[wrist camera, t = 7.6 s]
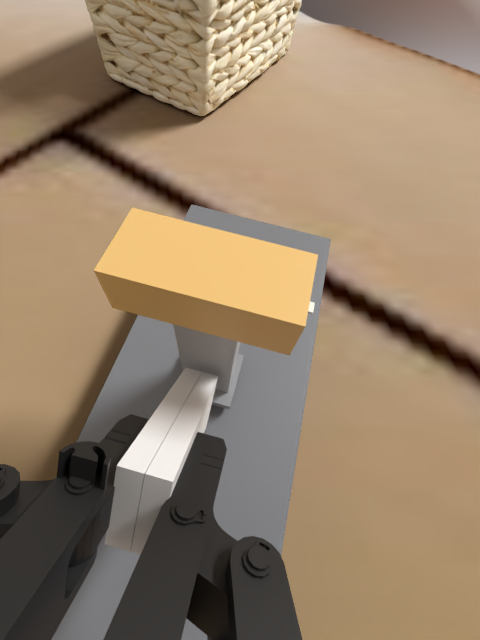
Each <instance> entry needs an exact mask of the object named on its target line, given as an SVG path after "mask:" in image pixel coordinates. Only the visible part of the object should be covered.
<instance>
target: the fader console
mask: <svg viewBox="0 0 480 640" xmlns="http://www.w3.org/2000/svg"><path fill="white" fill-rule="evenodd" d="M184 221H187V222H191V223H195V224H199V225H203V226H207V227H211V228H215V229H219V230H223V231H227V232H231V233H235V234H239V235H243V236H247V237H251V238H255V239H258V240H262V241H266V242H270V243H274V244H278V245H282V246H286V247H290V248H294V249H298V250H302V251H306V252H310V253H314V254H318V259H317V264H316V270H315V276H314V281H313V287H312V293H311V298H310V304H309V309H308V315H307V321H306V326H305V328H304V330H303V332H302V334H301V335H300V337H299V339H298V341H297V343H296V345H295V346H294V348H293V350H292V352H291V354H290V355H286V354H282V353H278V352H274V351H271V350H267V349H263V348H260V347H256V346H252V345H248V344H245V343H241V342H240V346H239V351H238V354H241V355H244V358H243V361H242V365H241V369H240V372H239V376H238V380H237V383H236V387H235V391H234V394H233V398H232V402H231V405H230V409H225V408H222V407H218V406H215V405H211V409H210V413H209V418H208V422H207V426H206V429H205V432H204V434H208V435H211V436H215V437H218V438H222V439H224V442H225V445H226V448H227V451H226V456H225V460H224V464H223V468H222V472H221V476H220V480H219V485H218V489H217V493H216V497H215V501H214V507H213V512H214V517H215V519H216V521H217V523H218V525H219V526H220V527H221V528H222V530H224V531H225V532H226V533H227V534H228V535H230V536H231V537H233V538H234V539H236V540H238V541H239V540H240V539H242V538H243V537H249V536H255V537H259V538H263V539H265V540H266V541H268V542H269V543H271V544H272V545H273V546H274V547H275V548H276V549H277V551H278V552H279V553H280V555H281V552H282V546H283V540H284V533H285V527H286V520H287V514H288V508H289V501H290V495H291V489H292V482H293V476H294V470H295V463H296V457H297V451H298V444H299V438H300V431H301V425H302V419H303V412H304V406H305V400H306V393H307V387H308V381H309V374H310V368H311V362H312V355H313V349H314V342H315V336H316V330H317V323H318V317H319V311H320V304H321V298H322V292H323V285H324V279H325V273H326V266H327V260H328V253H329V247H330V241H331V239H328V238H324V237H320V236H316V235H312V234H308V233H304V232H300V231H296V230H292V229H288V228H284V227H280V226H276V225H272V224H268V223H264V222H260V221H256V220H252V219H248V218H244V217H240V216H236V215H232V214H228V213H224V212H220V211H216V210H212V209H208V208H204V207H200V206H196V205H191V207H190V209H189V211H188V213H187V215H186V217H185V219H184ZM181 373H182V365H181V360H180V356H179V351H178V346H177V341H176V336H175V331H174V326H173V324H171V323H167V322H163V321H159V320H156V319H152V318H148V317H145V316H141V315H138V316H137V318H136V320H135V322H134V324H133V326H132V328H131V330H130V332H129V335H128V337H127V339H126V341H125V343H124V345H123V347H122V349H121V351H120V353H119V355H118V357H117V359H116V361H115V363H114V365H113V368H112V370H111V372H110V374H109V376H108V378H107V380H106V382H105V384H104V386H103V388H102V390H101V392H100V394H99V396H98V398H97V401H96V403H95V405H94V407H93V409H92V411H91V413H90V415H89V417H88V419H87V421H86V423H85V425H84V427H83V429H82V431H81V434H80V436H79V438H78V440H77V442H83V441H91V442H97V443H100V442H101V440H102V439H104V438H105V436H106V435H107V433H108V432H109V431H111V429H112V428H113V427H114V425H115V424H116V423H117V422H118V421H119V420H120V419H122V418H124V417H126V416H128V415H130V414H132V415H136V416H139V417H143V418H147V419H150V418H151V416H152V415H153V413H154V412H155V411H156V409H157V408H158V406H159V405H160V403H161V402H162V401H163V399H164V398H165V396H166V395H167V393H168V392H169V391H170V389H171V388H172V386H173V385H174V383H175V382H176V381H177V379H178V378H179V376H180V375H181ZM106 532H107V531H106ZM105 538H106V533H105V535H104V536H103V538H102V540H101V541H100V543H99V545H98V549H97V555H96V558H95V561H94V564H93V566H92V568H91V569H90V571H89V573H88V575H87V576H86V578H85V580H84V582H83V584H82V585H81V587H80V589H79V591H78V593H77V594H76V596H75V598H74V600H73V602H72V603H71V605H70V607H69V609H68V611H67V612H66V614H65V616H64V618H63V619H62V621H61V623H60V625H59V627H58V628H57V630H56V632H55V634H54V636H53V637H52V639H51V640H103V639H104V637H105V635H106V632H107V630H108V628H109V625H110V623H111V621H112V619H113V616H114V614H115V612H116V609H117V607H118V605H119V603H120V600H121V598H122V596H123V593H124V591H125V589H126V587H127V584H128V582H129V580H130V577H131V575H132V573H133V571H134V568H135V566H136V564H137V561H138V559H139V557H140V555H139V554H136V553H133V552H131V551H130V552H129V551H126V550H123V549H119V548H116V547H113V546H109V545H106V544H105ZM181 640H207V635H206V634H205V633H204V632H202V631H201V630H200V629H199V628H197V627H196V626H195V625H194V624H193V623H191V622H190V621H189V620H188V619H187V618H186V621H185V625H184V629H183V634H182V638H181Z"/></svg>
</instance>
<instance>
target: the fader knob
mask: <svg viewBox="0 0 480 640" xmlns="http://www.w3.org/2000/svg"><path fill="white" fill-rule="evenodd" d="M317 259H318V254H314V253H310V252H306V251H302V250H298V249H294V248H290V247H286V246H282V245H278V244H274V243H270V242H266V241H262V240H258V239H255V238H251V237H247V236H243V235H239V234H235V233H231V232H227V231H223V230H219V229H215V228H211V227H207V226H203V225H199V224H195V223H191V222H187V221H183V220H179V219H175V218H171V217H167V216H163V215H159V214H155V213H151V212H147V211H143V210H139V209H135V208H132V209H131V211H130V213H129V214H128V216H127V217H126V219H125V221H124V222H123V224H122V226H121V227H120V229H119V230H118V232H117V234H116V235H115V237H114V239H113V240H112V242H111V243H110V245H109V247H108V248H107V250H106V252H105V253H104V255H103V256H102V258H101V260H100V261H99V263H98V265H97V266H96V268H95V270H94V272H95V274H96V276H97V278H98V280H99V282H100V284H101V286H102V288H103V290H104V292H105V294H106V296H107V298H108V300H109V302H110V304H111V306H112V308H115V309H119V310H122V311H126V312H130V313H133V314H137V315H141V316H145V317H148V318H152V319H156V320H159V321H163V322H167V323H171V324H173V326H174V331H175V336H176V341H177V346H178V351H179V356H180V360H181V365H182V372H183V371H184V369H185V368H190V369H194V370H197V371H201V372H205V373H208V374H212V375H216V376H218V380H217V384H216V388H215V392H214V396H213V401H212V405H215V406H218V407H222V408H225V409H230V405H231V402H232V398H233V394H234V391H235V387H236V383H237V380H238V376H239V372H240V369H241V365H242V361H243V358H244V355H241V354H238V351H239V346H240V342H241V343H245V344H248V345H252V346H256V347H260V348H263V349H267V350H271V351H274V352H278V353H282V354H286V355H290V354H291V352H292V350H293V348H294V346H295V345H296V343H297V341H298V339H299V337H300V335H301V334H302V332H303V330H304V328H305V326H306V321H307V315H308V309H309V304H310V298H311V293H312V287H313V281H314V276H315V270H316V264H317ZM181 374H182V373H181Z"/></svg>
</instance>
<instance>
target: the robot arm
mask: <svg viewBox="0 0 480 640" xmlns="http://www.w3.org/2000/svg"><path fill="white" fill-rule="evenodd" d="M217 380H218V376H216V375H212V374H208V373H205V372H201V371H197V370H194V369H190V368H185V369H184V371H183V372H182V374H181V375H180V376H179V378H178V379H177V381H176V382H175V383H174V385H173V386H172V388H171V389H170V391H169V392H168V393H167V395H166V396H165V398H164V399H163V401H162V402H161V403H160V405H159V406H158V408H157V409H156V411H155V412H154V413H153V415H152V416H151V418H150V419H147V418H143V417H139V416H136V415H132V414H130V415H128V416H126V417H124V418H122V419H120V420H119V421H118V422H117V423H116V424H115V425H114V427H113V428H112V429H111V431H109V432H108V433H107V435H106V436H105V438H104V439H102V440H101V442H100V443H97V442H91V441H83V442H76V443H73V444H71V445H68V446H66V447H65V448H63V449H62V450H60V451H59V461H58V471H57V477H56V479H55V480H50V481H20V474H19V472H18V471H17V470H16V469H15V468H14V467H11V466H8V465H5V464H0V640H51V639H52V637H53V636H54V634H55V632H56V630H57V628H58V627H59V625H60V623H61V621H62V619H63V618H64V616H65V614H66V612H67V611H68V609H69V607H70V605H71V603H72V602H73V600H74V598H75V596H76V594H77V593H78V591H79V589H80V587H81V585H82V584H83V582H84V580H85V578H86V576H87V575H88V573H89V571H90V569H91V568H92V566H93V564H94V561H95V558H96V555H97V549H98V545H99V543H100V541H101V540H102V538H103V536H104V535H105V533H106V538H105V544H106V545H109V546H113V547H116V548H119V549H123V550H126V551H129V552H130V551H131V552H133V553H136V554H139V555H140V557H139V559H138V561H137V564H136V566H135V568H134V571H133V573H132V575H131V577H130V580H129V582H128V584H127V587H126V589H125V591H124V593H123V596H122V598H121V600H120V603H119V605H118V607H117V609H116V612H115V614H114V616H113V619H112V621H111V623H110V625H109V628H108V630H107V632H106V635H105V637H104V639H103V640H181V638H182V634H183V629H184V625H185V621H186V618H187V619H188V620H189V621H190V622H191V623H193V624H194V625H195V626H196V627H197V628H199V629H200V630H201V631H202V632H204V633H205V634H206V635H207V640H302V637H301V632H300V628H299V624H298V620H297V616H296V612H295V607H294V603H293V599H292V595H291V591H290V587H289V582H288V578H287V574H286V570H285V566H284V562H283V560H282V558H281V555H280V553H279V552H278V551H277V549H276V548H275V547H274V546H273V545H272V544H271V543H269V542H268V541H266V540H265V539H263V538H259V537H255V536H249V537H243V538H242V539H240V540H239V541H238V540H236V539H234V538H233V537H231V536H230V535H228V534H227V533H226V532H225V531H224V530H222V528H221V527H220V526H219V525H218V523H217V521H216V519H215V517H214V512H213V507H214V501H215V497H216V493H217V489H218V485H219V480H220V476H221V472H222V468H223V464H224V460H225V456H226V451H227V448H226V445H225V442H224V439H222V438H218V437H215V436H211V435H208V434H204V432H205V429H206V426H207V422H208V418H209V413H210V409H211V405H212V401H213V396H214V392H215V388H216V384H217ZM106 531H107V532H106Z"/></svg>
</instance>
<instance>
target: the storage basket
mask: <svg viewBox="0 0 480 640" xmlns="http://www.w3.org/2000/svg"><path fill="white" fill-rule="evenodd" d="M301 1H302V0H85V2H86V5H87V9H88V11H89V13H90V17H91V20H92V23H93V29H94V32H95V35H96V36H97V42H98V46H99V48H100V51H101V56H102V59H103V61H104V65H105V69H106V71H107V74H108V75H109V76H111V78H113V79H114V80H116V81H118V82H121V83H124V84H125V85H127V86H128V87H131V88H134V89H137V90H138V91H140V92H142V93H144V94H147V95H153V96H154V97H155V98H156V99H157V100H159V101H162V102H165V103H169V104H172V105H174V106H175V107H177V108H179V109H182V110H187V111H189V112H191V113H193V114H195V115H198V116H205V115H206V114H208V113H209V112H211V111H213V110H215V109H216V108H217V107H218V106H219V105H220V104H221V103H222V102H224V101H226V100H228V99H229V97H230V96H231V95H233V94H234V93H235V92H238V91H239V90H241V89H243V88H244V87H245V86H246V85H247V84H248V83H249V82H251V81H252V80H253V79H254V78H255V77H257V76H259V75H261V74H262V73H263V72H264V71H265V70H267V68H269V67H270V66H271V64H272V63H274V62H275V61H276V60H279V59H280V58H281V57H282V56H283V55H284V54H286V53H287V51H288V50H289V47H290V43H291V38H292V34H293V28H294V26H295V23H296V20H297V18H298V13H299V9H300V7H301Z"/></svg>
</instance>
